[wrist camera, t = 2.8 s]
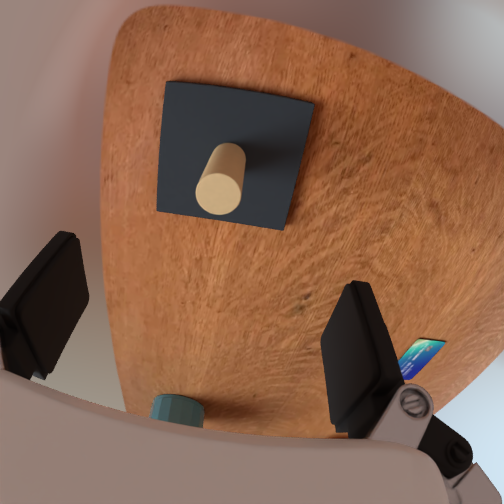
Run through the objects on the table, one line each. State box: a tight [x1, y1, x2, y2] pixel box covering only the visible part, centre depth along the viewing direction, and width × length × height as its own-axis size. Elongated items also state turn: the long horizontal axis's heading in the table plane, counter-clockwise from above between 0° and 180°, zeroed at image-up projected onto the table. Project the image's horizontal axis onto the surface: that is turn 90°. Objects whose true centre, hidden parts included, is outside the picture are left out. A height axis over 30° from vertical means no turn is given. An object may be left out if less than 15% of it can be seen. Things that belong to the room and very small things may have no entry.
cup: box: [149, 394, 205, 428], centre depth 39 cm, size 8×8×9 cm
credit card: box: [398, 339, 445, 380], centre depth 36 cm, size 8×5×1 cm, turn 164°
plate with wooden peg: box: [157, 81, 315, 231], centre depth 19 cm, size 10×10×7 cm
